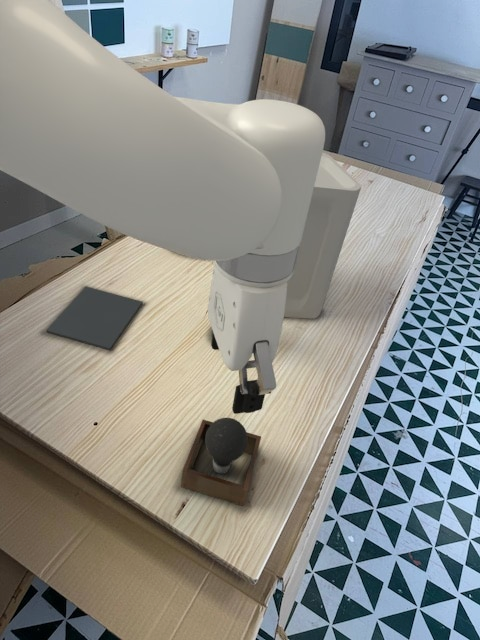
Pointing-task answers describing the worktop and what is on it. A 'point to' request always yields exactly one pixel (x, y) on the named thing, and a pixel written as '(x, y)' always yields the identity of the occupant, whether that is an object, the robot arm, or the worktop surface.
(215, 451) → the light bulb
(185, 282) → the worktop surface
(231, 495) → the crate
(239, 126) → the robot arm
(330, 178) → the triangular concrete planter
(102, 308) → the mat
